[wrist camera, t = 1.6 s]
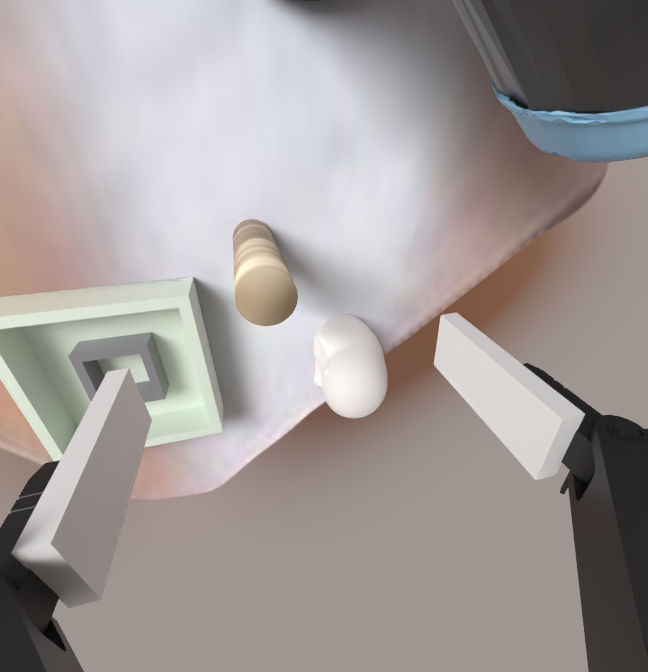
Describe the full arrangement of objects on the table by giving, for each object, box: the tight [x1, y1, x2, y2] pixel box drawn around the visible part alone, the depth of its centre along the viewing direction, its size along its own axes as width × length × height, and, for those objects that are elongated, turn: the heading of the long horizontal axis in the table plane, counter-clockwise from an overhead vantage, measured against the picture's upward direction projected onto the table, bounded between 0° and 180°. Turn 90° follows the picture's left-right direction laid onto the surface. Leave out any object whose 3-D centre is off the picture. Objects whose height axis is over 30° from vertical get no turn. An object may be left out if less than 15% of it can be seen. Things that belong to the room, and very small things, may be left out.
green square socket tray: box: [0, 277, 224, 461], centre depth 32 cm, size 16×16×4 cm
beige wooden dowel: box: [233, 219, 298, 326], centre depth 25 cm, size 4×4×14 cm
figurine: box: [313, 314, 387, 418], centre depth 34 cm, size 7×8×12 cm
